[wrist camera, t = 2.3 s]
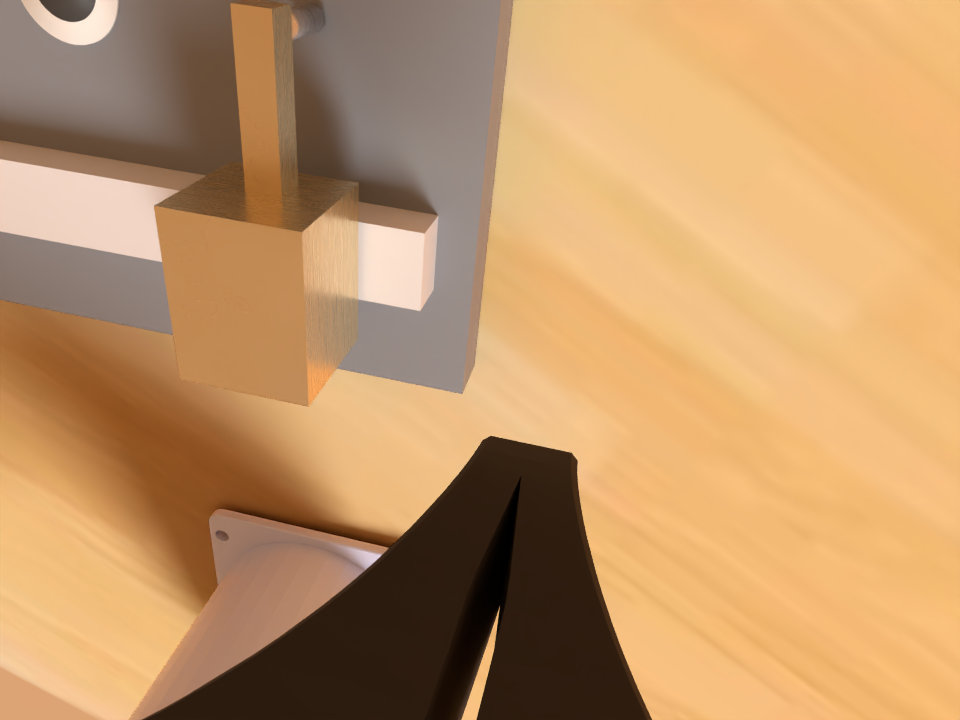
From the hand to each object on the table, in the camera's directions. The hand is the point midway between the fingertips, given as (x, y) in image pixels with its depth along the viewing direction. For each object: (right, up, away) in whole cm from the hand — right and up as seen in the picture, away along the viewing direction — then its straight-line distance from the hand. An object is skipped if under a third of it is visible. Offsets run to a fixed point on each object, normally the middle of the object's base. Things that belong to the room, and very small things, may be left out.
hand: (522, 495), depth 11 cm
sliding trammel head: (-5, +7, +6) cm, 10 cm away
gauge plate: (-11, +9, +9) cm, 17 cm away
